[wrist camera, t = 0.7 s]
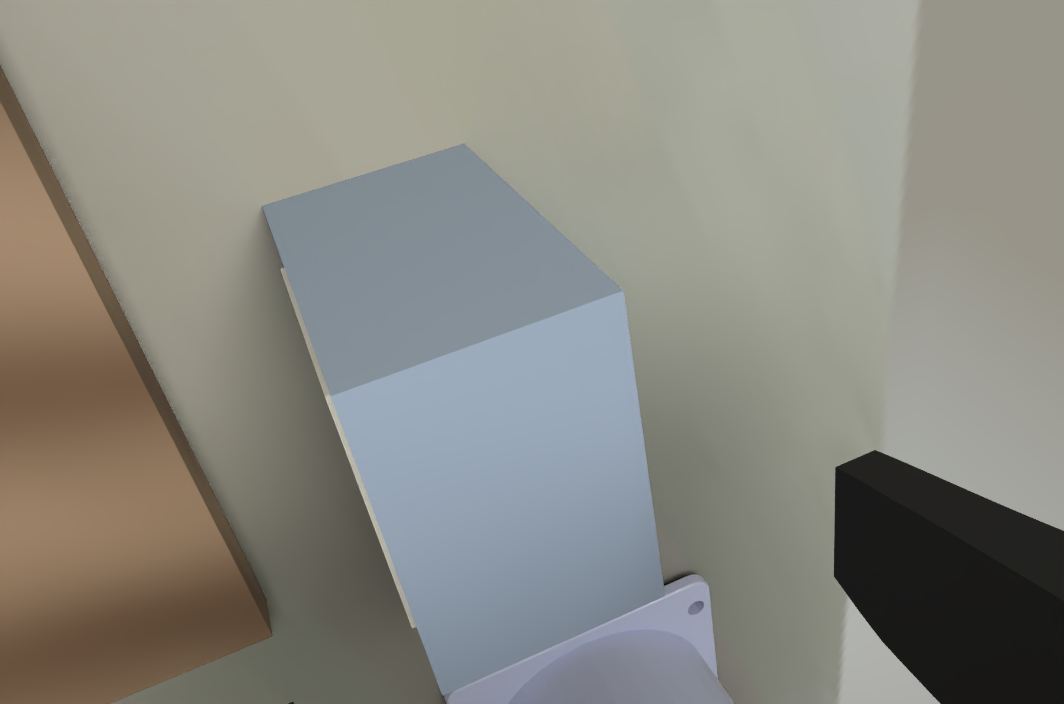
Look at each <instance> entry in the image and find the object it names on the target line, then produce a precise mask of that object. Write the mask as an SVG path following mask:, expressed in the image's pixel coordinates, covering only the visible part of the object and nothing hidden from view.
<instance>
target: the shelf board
mask: <svg viewBox="0 0 1064 704" xmlns="http://www.w3.org/2000/svg"><path fill="white" fill-rule="evenodd" d="M272 636H273V635H272V630H271V624H270V619H269V613H268V608H267V602H266V598H265V596H264V594H263V592H262V590H261V588H260V586H259V584H258V582H257V580H256V578H255V576H254V574H253V572H252V570H251V568H250V566H249V564H248V562H247V560H246V558H245V556H244V554H243V552H242V550H241V548H240V546H239V544H238V542H237V540H236V538H235V536H234V534H233V532H232V530H231V528H230V526H229V524H228V522H227V520H226V518H225V516H224V514H223V512H222V510H221V508H220V506H219V504H218V502H217V500H216V498H215V496H214V494H213V492H212V490H211V488H210V486H209V484H208V482H207V480H206V478H205V476H204V474H203V472H202V470H201V468H200V466H199V464H198V462H197V460H196V458H195V456H194V454H193V452H192V450H191V448H190V446H189V444H188V442H187V440H186V437H185V435H184V433H183V431H182V429H181V427H180V425H179V423H178V421H177V419H176V417H175V415H174V413H173V411H172V409H171V407H170V405H169V403H168V401H167V399H166V397H165V395H164V393H163V391H162V389H161V387H160V385H159V383H158V381H157V379H156V377H155V375H154V373H153V371H152V369H151V367H150V365H149V363H148V361H147V359H146V357H145V355H144V353H143V351H142V349H141V347H140V345H139V343H138V341H137V339H136V337H135V335H134V333H133V331H132V329H131V327H130V325H129V323H128V321H127V319H126V317H125V315H124V313H123V311H122V309H121V307H120V305H119V303H118V301H117V299H116V297H115V295H114V293H113V291H112V289H111V287H110V285H109V283H108V281H107V279H106V277H105V275H104V273H103V271H102V269H101V267H100V265H99V263H98V261H97V259H96V257H95V255H94V253H93V251H92V249H91V247H90V245H89V243H88V241H87V239H86V237H85V235H84V233H83V231H82V229H81V227H80V225H79V223H78V221H77V219H76V217H75V215H74V213H73V211H72V209H71V207H70V205H69V203H68V201H67V199H66V197H65V195H64V193H63V191H62V189H61V187H60V185H59V183H58V181H57V179H56V177H55V175H54V173H53V171H52V169H51V167H50V165H49V163H48V161H47V159H46V157H45V155H44V153H43V151H42V149H41V147H40V145H39V143H38V141H37V139H36V137H35V135H34V133H33V131H32V129H31V127H30V125H29V123H28V121H27V119H26V117H25V115H24V113H23V111H22V109H21V107H20V105H19V103H18V101H17V99H16V97H15V94H14V92H13V90H12V88H11V86H10V84H9V82H8V80H7V78H6V76H5V74H4V72H3V70H2V68H1V66H0V704H110V703H112V702H115V701H117V700H120V699H122V698H124V697H127V696H129V695H132V694H134V693H136V692H139V691H141V690H144V689H146V688H149V687H151V686H153V685H156V684H158V683H161V682H163V681H165V680H168V679H170V678H173V677H175V676H177V675H180V674H182V673H185V672H187V671H190V670H192V669H194V668H197V667H199V666H202V665H204V664H206V663H209V662H211V661H214V660H216V659H218V658H221V657H223V656H226V655H228V654H231V653H233V652H235V651H238V650H240V649H243V648H245V647H247V646H250V645H252V644H255V643H257V642H259V641H262V640H264V639H267V638H269V637H272Z"/></svg>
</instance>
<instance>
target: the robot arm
mask: <svg viewBox="0 0 1064 704" xmlns="http://www.w3.org/2000/svg"><path fill="white" fill-rule="evenodd" d="M834 577H835V578H836V580H837V581H838V582H839V584H840V585H841V587H842V588H843V589H844V591H845V592H846V594H847V595H848V596H849V598H850V599H851V600H852V602H853V603H854V605H855V606H856V607H857V609H858V610H859V612H860V613H861V614H862V615H863V617H864V618H865V619H866V621H867V622H868V623H869V625H870V626H871V627H872V629H873V630H874V631H875V632H876V634H877V635H878V636H879V638H880V639H881V640H882V642H883V643H884V644H885V645H886V646H887V647H888V648H889V649H890V650H891V651H892V652H893V653H894V655H895V656H896V657H897V658H898V659H899V660H900V661H901V662H902V663H903V664H904V665H905V666H906V667H907V668H908V670H909V671H910V672H911V673H912V674H913V675H914V676H915V677H916V678H917V679H918V680H919V681H920V682H921V683H922V684H923V686H924V687H925V688H926V689H927V690H928V691H929V692H930V693H931V694H932V695H933V696H934V697H935V698H936V699H937V700H938V701H939V702H940V703H941V704H1064V531H1062V530H1060V529H1057V528H1055V527H1052V526H1050V525H1048V524H1045V523H1043V522H1040V521H1038V520H1036V519H1033V518H1031V517H1028V516H1026V515H1024V514H1021V513H1019V512H1016V511H1014V510H1012V509H1010V508H1007V507H1005V506H1002V505H1000V504H998V503H996V502H993V501H991V500H989V499H986V498H984V497H982V496H980V495H977V494H975V493H973V492H970V491H968V490H966V489H964V488H961V487H959V486H957V485H954V484H952V483H950V482H948V481H945V480H943V479H941V478H939V477H936V476H934V475H932V474H930V473H927V472H925V471H923V470H921V469H918V468H916V467H914V466H911V465H909V464H907V463H904V462H902V461H900V460H897V459H895V458H893V457H890V456H888V455H886V454H883V453H881V452H878V451H876V450H874V451H872V452H870V453H867V454H865V455H863V456H860V457H858V458H856V459H853V460H851V461H849V462H847V463H844V464H842V465H840V466H837V467H836V472H835V541H834ZM664 590H665V596H664V597H662V598H660V599H658V600H655V601H653V602H651V603H649V604H647V605H644V606H642V607H640V608H638V609H635V610H633V611H631V612H629V613H626V614H624V615H622V616H620V617H618V618H615V619H613V620H611V621H609V622H606V623H604V624H602V625H600V626H597V627H595V628H593V629H591V630H589V631H586V632H584V633H582V634H580V635H577V636H575V637H573V638H571V639H568V640H566V641H564V642H562V643H560V644H557V645H555V646H553V647H551V648H548V649H546V650H544V651H542V652H539V653H537V654H535V655H533V656H530V657H528V658H526V659H524V660H522V661H519V662H517V663H515V664H513V665H510V666H508V667H506V668H504V669H501V670H499V671H497V672H495V673H493V674H490V675H488V676H486V677H484V678H481V679H479V680H477V681H475V682H472V683H470V684H468V685H466V686H464V687H461V688H459V689H457V690H455V691H452V692H450V693H448V694H446V695H444V699H445V701H446V704H734V702H733V701H732V699H731V698H730V696H729V695H728V694H727V692H726V691H725V689H724V688H723V686H722V685H721V683H720V682H719V681H718V673H717V663H716V653H715V643H714V632H713V622H712V612H711V601H710V591H709V586H708V584H707V583H706V581H705V580H704V579H703V578H702V577H701V576H700V575H694V574H693V575H689V576H686V577H684V578H681V579H679V580H677V581H675V582H672V583H670V584H668V585H666V586H664ZM289 704H294V703H293V702H291V703H289Z"/></svg>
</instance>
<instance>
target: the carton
mask: <svg viewBox="0 0 1064 704" xmlns="http://www.w3.org/2000/svg"><path fill="white" fill-rule="evenodd" d="M262 207H263V210H264V213H265V216H266V218H267V221H268V224H269V227H270V229H271V232H272V235H273V238H274V241H275V243H276V246H277V249H278V252H279V254H280V257H281V260H282V263H283V265H284V268H281V269H280V270H281V273H282V276H283V279H284V282H285V284H286V287H287V290H288V293H289V296H290V299H291V302H292V304H293V307H294V310H295V313H296V316H297V319H298V322H299V324H300V327H301V330H302V333H303V336H304V339H305V342H306V344H307V347H308V350H309V353H310V356H311V359H312V362H313V364H314V367H315V370H316V373H317V376H318V379H319V381H320V384H321V387H322V390H323V393H324V396H325V398H326V401H327V404H328V406H329V409H330V412H331V414H332V417H333V420H334V422H335V425H336V428H337V430H338V433H339V436H340V438H341V441H342V444H343V446H344V449H345V452H346V454H347V457H348V460H349V462H350V465H351V467H352V470H353V473H354V475H355V478H356V481H357V483H358V486H359V489H360V491H361V494H362V497H363V499H364V502H365V505H366V507H367V510H368V513H369V515H370V518H371V521H372V523H373V526H374V529H375V531H376V534H377V537H378V539H379V542H380V544H381V547H382V550H383V552H384V555H385V558H386V560H387V563H388V566H389V568H390V571H391V574H392V576H393V579H394V582H395V584H396V587H397V590H398V592H399V595H400V598H401V600H402V603H403V606H404V608H405V611H406V614H407V616H408V619H409V621H410V624H411V627H412V628H415V627H417V629H418V632H419V635H420V637H421V640H422V643H423V646H424V648H425V651H426V654H427V656H428V659H429V662H430V664H431V667H432V670H433V672H434V675H435V678H436V681H437V683H438V686H439V689H440V691H441V694H442V696H443V695H446V694H448V693H450V692H452V691H455V690H457V689H459V688H461V687H464V686H466V685H468V684H470V683H472V682H475V681H477V680H479V679H481V678H484V677H486V676H488V675H490V674H493V673H495V672H497V671H499V670H501V669H504V668H506V667H508V666H510V665H513V664H515V663H517V662H519V661H522V660H524V659H526V658H528V657H530V656H533V655H535V654H537V653H539V652H542V651H544V650H546V649H548V648H551V647H553V646H555V645H557V644H560V643H562V642H564V641H566V640H568V639H571V638H573V637H575V636H577V635H580V634H582V633H584V632H586V631H589V630H591V629H593V628H595V627H597V626H600V625H602V624H604V623H606V622H609V621H611V620H613V619H615V618H618V617H620V616H622V615H624V614H626V613H629V612H631V611H633V610H635V609H638V608H640V607H642V606H644V605H647V604H649V603H651V602H653V601H655V600H658V599H660V598H662V597H664V596H665V590H664V583H663V575H662V568H661V561H660V554H659V546H658V539H657V532H656V524H655V517H654V510H653V503H652V495H651V488H650V481H649V473H648V466H647V459H646V452H645V444H644V437H643V430H642V422H641V415H640V408H639V400H638V393H637V386H636V379H635V371H634V364H633V357H632V349H631V342H630V335H629V328H628V320H627V313H626V306H625V298H624V291H623V290H622V289H621V288H620V287H619V286H618V285H617V284H616V283H615V282H614V281H612V280H611V279H610V278H609V277H608V276H607V275H606V274H605V273H604V272H603V271H602V270H601V269H599V268H598V267H597V266H596V265H595V264H594V263H593V262H592V261H591V260H590V259H589V258H588V257H586V256H585V255H584V254H583V253H582V252H581V251H580V250H579V249H578V248H577V247H576V246H575V245H573V244H572V243H571V242H570V241H569V240H568V239H567V238H566V237H565V236H564V235H563V234H562V233H560V232H559V231H558V230H557V229H556V228H555V227H554V226H553V225H552V224H551V223H550V222H549V221H547V220H546V219H545V218H544V217H543V216H542V215H541V214H540V213H539V212H538V211H537V210H536V209H534V208H533V207H532V206H531V205H530V204H529V203H528V202H527V201H526V200H525V199H524V198H522V197H521V196H520V195H519V194H518V193H517V192H516V191H515V190H514V189H513V188H512V187H511V186H509V185H508V184H507V183H506V182H505V181H504V180H503V179H502V178H501V177H500V176H499V175H498V174H496V173H495V172H494V171H493V170H492V169H491V168H490V167H489V166H488V165H487V164H486V163H485V162H483V161H482V160H481V159H480V158H479V157H478V156H477V155H476V154H475V153H474V152H473V151H472V150H470V149H469V148H468V147H467V146H466V145H465V144H461V145H458V146H455V147H451V148H448V149H445V150H442V151H438V152H435V153H432V154H429V155H426V156H422V157H419V158H416V159H413V160H409V161H406V162H403V163H400V164H396V165H393V166H390V167H387V168H383V169H380V170H377V171H374V172H370V173H367V174H364V175H361V176H358V177H354V178H351V179H348V180H345V181H341V182H338V183H335V184H332V185H328V186H325V187H322V188H319V189H315V190H312V191H309V192H306V193H302V194H299V195H296V196H293V197H290V198H286V199H283V200H280V201H277V202H273V203H270V204H267V205H264V206H262Z"/></svg>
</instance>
